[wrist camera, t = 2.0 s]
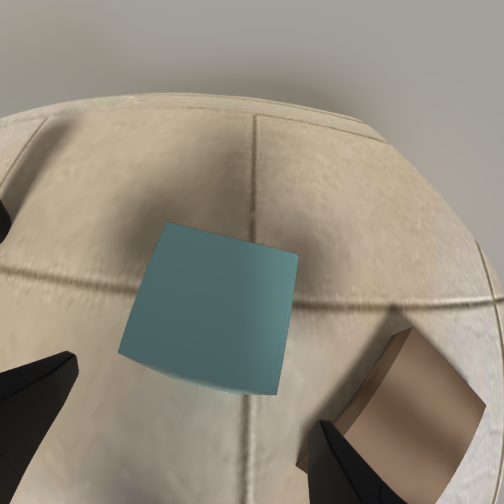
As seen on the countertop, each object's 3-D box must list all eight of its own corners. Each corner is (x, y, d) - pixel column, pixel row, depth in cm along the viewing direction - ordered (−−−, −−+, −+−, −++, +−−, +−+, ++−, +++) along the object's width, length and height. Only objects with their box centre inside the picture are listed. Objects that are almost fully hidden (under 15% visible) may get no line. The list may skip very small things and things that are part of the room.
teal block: (236, 393, 18) (276, 395, 7) (169, 376, 18) (117, 352, 7) (250, 330, 20) (298, 254, 10) (186, 314, 20) (166, 221, 10)
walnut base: (396, 522, 12) (415, 529, 9) (295, 465, 15) (309, 475, 13) (466, 408, 18) (486, 405, 16) (392, 335, 22) (413, 326, 19)
